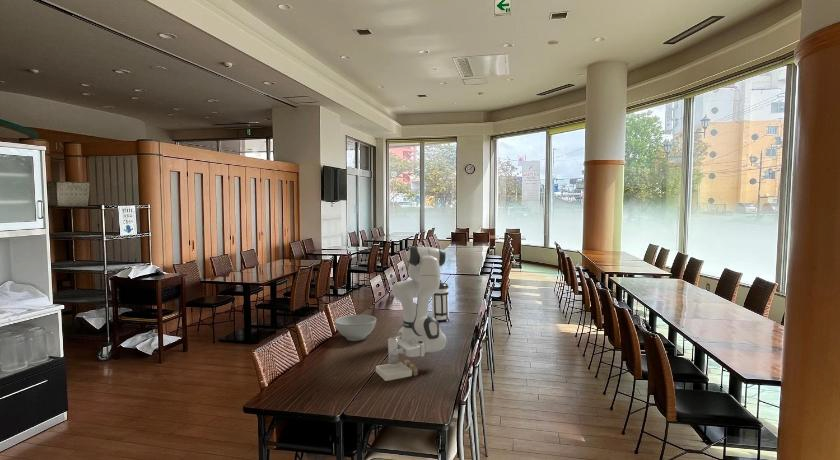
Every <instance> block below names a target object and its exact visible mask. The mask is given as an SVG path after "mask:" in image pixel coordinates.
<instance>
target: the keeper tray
mask: <svg viewBox="0 0 840 460" xmlns="http://www.w3.org/2000/svg"><path fill="white" fill-rule="evenodd" d="M375 373H376V374H377V375H378V376H379V377H381V378H382V379H383V381H385V382H387V381H392V380H398V379H403V378H410V377H412V376H413V374H412V370H411V369H410V368H409V367H407V366H406V365H405V364H403V361H399V363H397V364H389V363H387V364H386V363H385V364H381V365H376V366H375Z"/></svg>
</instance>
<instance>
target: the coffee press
mask: <svg viewBox="0 0 840 460" xmlns="http://www.w3.org/2000/svg"><path fill="white" fill-rule="evenodd" d="M449 288H450V287H449V285H448V284H447V283H446V282H442V280H441V279H440V286H439V289H438V291H437V292H436V293H435V294H434V295H433V296H432V297H431V312H432V313H431V314H432V316H431V317H434V318H436V319H437V321H444V320H445V321H446V322H450V319H449V317H450V316H449V315H450V314H449V311H450V310H449V307H450V306H449V293H450V292H449Z"/></svg>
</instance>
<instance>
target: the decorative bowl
mask: <svg viewBox="0 0 840 460" xmlns="http://www.w3.org/2000/svg"><path fill="white" fill-rule="evenodd" d="M376 324H377V317H375V316H373V315H371V314H370V315H369V314H351V315H345V316H344V315H343V316H341V317H338V318H336V319H334V326H335V329H337V331H338V332H339V334H340V335H341V336H343V337H344V338H346V340H348V341H349V342H350V341H351V342H358V341H363V340H365V339H366V338H367V336H368V335H370V334H371V333H372V331H373V330H374V329H375V326H376Z"/></svg>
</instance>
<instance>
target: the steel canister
mask: <svg viewBox="0 0 840 460" xmlns="http://www.w3.org/2000/svg"><path fill="white" fill-rule="evenodd" d="M395 337H396V336H395ZM395 337H394V336H393V337H389V338H387V353H388V355H387V357H388V364H397V363H399V362H400V361H399V359H400V358H399V353H396V354H395V353H394V351H393V350H394V349H398V338H395Z"/></svg>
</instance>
